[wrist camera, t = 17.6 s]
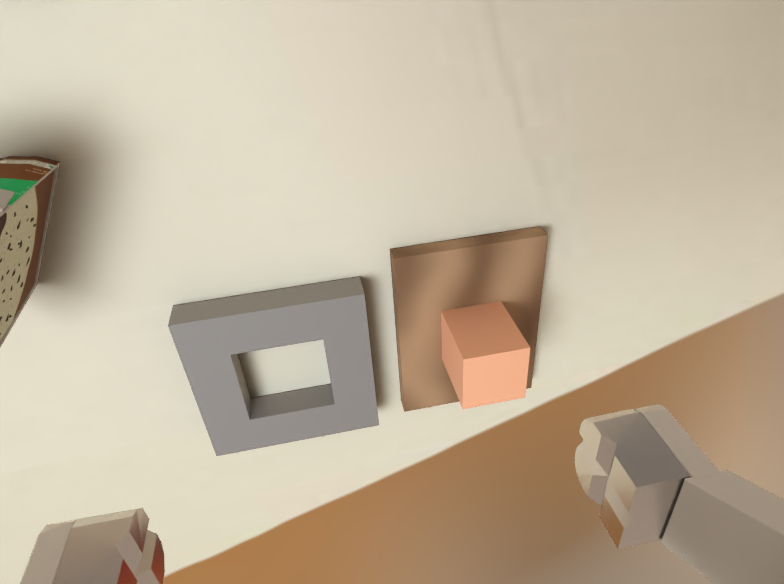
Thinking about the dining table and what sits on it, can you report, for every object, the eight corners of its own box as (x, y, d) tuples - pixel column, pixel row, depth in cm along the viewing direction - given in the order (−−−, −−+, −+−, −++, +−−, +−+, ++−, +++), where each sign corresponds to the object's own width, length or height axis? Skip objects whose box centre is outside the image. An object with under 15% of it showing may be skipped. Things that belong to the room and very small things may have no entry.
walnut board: (539, 226, 43) (548, 235, 42) (524, 376, 52) (530, 387, 51) (389, 249, 41) (393, 258, 40) (401, 399, 50) (404, 411, 49)
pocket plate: (359, 276, 42) (364, 294, 40) (374, 404, 50) (379, 425, 48) (173, 305, 40) (168, 325, 38) (218, 433, 48) (216, 456, 46)
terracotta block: (501, 301, 44) (530, 347, 39) (498, 348, 47) (525, 397, 42) (441, 311, 44) (463, 359, 39) (441, 358, 46) (462, 409, 41)
